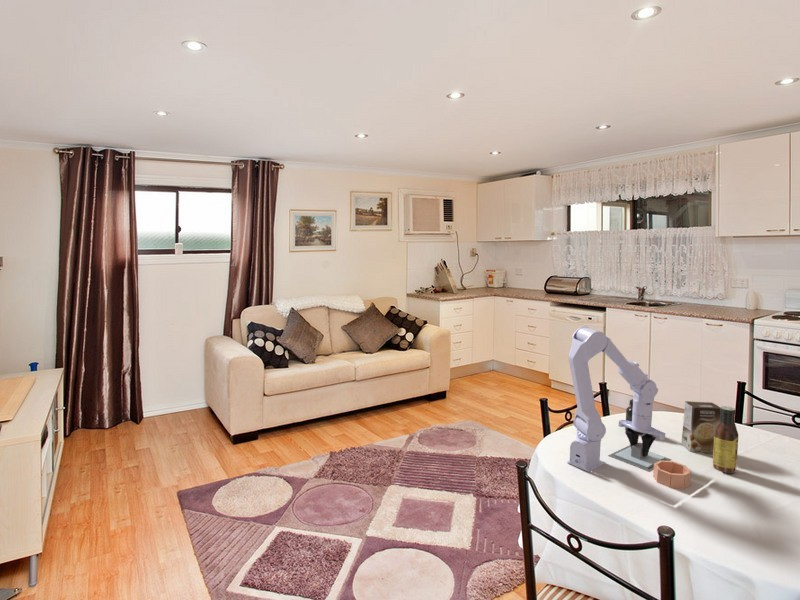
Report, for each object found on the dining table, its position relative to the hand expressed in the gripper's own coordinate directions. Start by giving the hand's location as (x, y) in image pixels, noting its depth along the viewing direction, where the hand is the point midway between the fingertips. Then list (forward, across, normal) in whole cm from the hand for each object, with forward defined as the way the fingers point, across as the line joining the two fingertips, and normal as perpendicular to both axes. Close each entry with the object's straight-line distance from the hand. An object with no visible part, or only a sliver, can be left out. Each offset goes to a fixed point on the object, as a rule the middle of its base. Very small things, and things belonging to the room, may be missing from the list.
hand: (639, 453), depth 163 cm
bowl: (+2, -14, +7) cm, 15 cm away
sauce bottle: (+2, -20, -14) cm, 24 cm away
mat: (+2, 0, 0) cm, 2 cm away
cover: (+1, 0, 0) cm, 1 cm away
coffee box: (+2, -8, -23) cm, 25 cm away
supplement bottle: (+2, +12, -20) cm, 24 cm away
